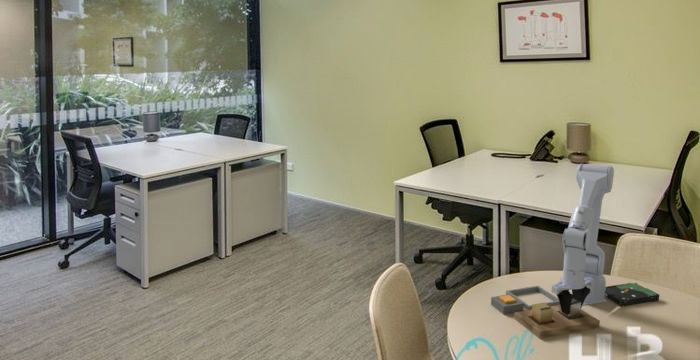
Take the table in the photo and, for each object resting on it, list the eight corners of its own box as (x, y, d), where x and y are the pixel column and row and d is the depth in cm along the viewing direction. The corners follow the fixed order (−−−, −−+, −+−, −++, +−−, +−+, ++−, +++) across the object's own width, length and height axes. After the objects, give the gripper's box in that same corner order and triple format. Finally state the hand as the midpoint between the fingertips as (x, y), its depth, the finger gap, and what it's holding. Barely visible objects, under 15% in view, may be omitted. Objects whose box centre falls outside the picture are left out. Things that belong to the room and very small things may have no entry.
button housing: (510, 302, 163) (510, 294, 163) (523, 312, 157) (523, 303, 156) (490, 305, 161) (491, 297, 161) (503, 315, 155) (503, 306, 154)
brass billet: (542, 321, 150) (543, 301, 149) (551, 327, 146) (552, 307, 145) (531, 323, 149) (532, 303, 148) (539, 329, 145) (540, 309, 144)
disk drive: (620, 309, 159) (659, 302, 162) (621, 300, 158) (660, 294, 162) (597, 295, 168) (634, 289, 172) (597, 287, 168) (634, 281, 171)
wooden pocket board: (570, 310, 157) (571, 302, 157) (599, 328, 146) (599, 320, 145) (514, 320, 152) (514, 312, 151) (539, 340, 141) (539, 331, 140)
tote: (537, 291, 171) (538, 285, 171) (561, 306, 160) (562, 300, 159) (505, 296, 168) (506, 290, 167) (528, 312, 156) (528, 306, 156)
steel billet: (568, 315, 153) (570, 296, 152) (579, 321, 149) (581, 301, 148) (558, 318, 151) (560, 299, 150) (569, 324, 148) (571, 304, 147)
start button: (508, 303, 161) (509, 295, 160) (515, 308, 158) (515, 299, 157) (498, 305, 160) (499, 296, 159) (505, 310, 157) (505, 301, 156)
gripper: (581, 259, 153) (577, 301, 156) (544, 267, 147) (542, 310, 150) (601, 267, 147) (597, 310, 150) (563, 276, 141) (560, 321, 144)
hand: (570, 311), depth 149 cm, fingers closed on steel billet, 4 cm apart
